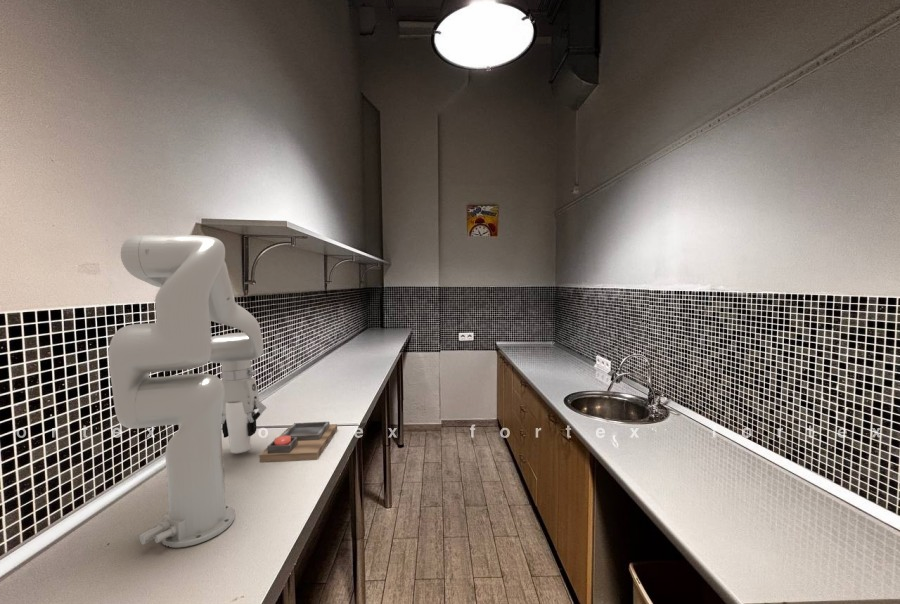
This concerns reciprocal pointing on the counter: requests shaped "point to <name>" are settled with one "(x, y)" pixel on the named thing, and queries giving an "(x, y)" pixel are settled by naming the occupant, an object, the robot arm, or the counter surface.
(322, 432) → the brown flat wooden board
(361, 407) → the counter surface
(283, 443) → the button
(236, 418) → the drinking glass
